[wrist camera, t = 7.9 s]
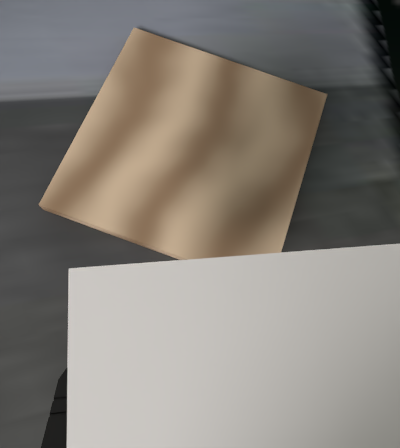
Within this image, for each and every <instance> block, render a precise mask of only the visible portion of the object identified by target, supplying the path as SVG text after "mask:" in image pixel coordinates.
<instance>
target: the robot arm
mask: <svg viewBox="0 0 400 448" xmlns="http://www.w3.org/2000/svg"><path fill="white" fill-rule="evenodd" d="M67 372H68V367H67V368H66V370H65V371H64V373H63V374H62V375H61V377H60V378H59V380H58V384H57V388H56V392H55V395H54V401H53V403H52V407H51V411H50V417H49V419H48V422H47V426H46V430H45V434H44V438H43V442H42V446H41V448H67Z"/></svg>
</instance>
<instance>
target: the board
mask: <svg viewBox="0 0 400 448" xmlns="http://www.w3.org/2000/svg"><path fill="white" fill-rule="evenodd" d="M326 97H327V94H325V93H322V92H319V91H316V90H314V89H311V88H308V87H305V86H302V85H299V84H296V83H293V82H290V81H287V80H285V79H282V78H279V77H276V76H273V75H270V74H267V73H264V72H261V71H259V70H256V69H253V68H250V67H247V66H244V65H241V64H238V63H235V62H232V61H230V60H227V59H224V58H221V57H218V56H215V55H212V54H209V53H206V52H204V51H201V50H198V49H195V48H192V47H189V46H186V45H183V44H180V43H177V42H175V41H172V40H169V39H166V38H163V37H160V36H157V35H154V34H151V33H149V32H146V31H143V30H140V29H137V28H134V29H133V30H132V32H131V34H130V36H129V38H128V40H127V42H126V43H125V45H124V47H123V49H122V51H121V53H120V55H119V56H118V58H117V60H116V62H115V64H114V66H113V68H112V69H111V71H110V73H109V75H108V77H107V79H106V81H105V82H104V84H103V86H102V88H101V90H100V92H99V94H98V95H97V97H96V99H95V101H94V103H93V105H92V107H91V108H90V110H89V112H88V114H87V116H86V118H85V120H84V121H83V123H82V125H81V127H80V129H79V131H78V133H77V134H76V136H75V138H74V140H73V142H72V144H71V146H70V148H69V149H68V151H67V153H66V155H65V157H64V159H63V161H62V162H61V164H60V166H59V168H58V170H57V172H56V174H55V175H54V177H53V179H52V181H51V183H50V185H49V187H48V188H47V190H46V192H45V194H44V196H43V198H42V200H41V201H40V203H39V206H40V207H41V208H42V209H43V210H46V211H49V212H51V213H54V214H57V215H60V216H62V217H65V218H68V219H71V220H73V221H76V222H79V223H81V224H84V225H87V226H90V227H92V228H95V229H98V230H100V231H103V232H106V233H109V234H111V235H114V236H117V237H119V238H122V239H125V240H128V241H130V242H133V243H136V244H139V245H141V246H144V247H147V248H149V249H152V250H155V251H158V252H160V253H163V254H166V255H168V256H171V257H174V258H177V259H179V260H189V259H203V258H216V257H229V256H243V255H256V254H269V253H281V251H282V247H283V244H284V241H285V237H286V234H287V230H288V227H289V223H290V220H291V217H292V213H293V210H294V206H295V203H296V200H297V196H298V193H299V189H300V186H301V183H302V179H303V176H304V172H305V169H306V165H307V162H308V159H309V155H310V152H311V148H312V145H313V142H314V138H315V135H316V131H317V128H318V125H319V121H320V118H321V114H322V111H323V108H324V104H325V101H326Z"/></svg>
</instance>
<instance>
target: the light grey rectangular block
mask: <svg viewBox="0 0 400 448" xmlns="http://www.w3.org/2000/svg"><path fill="white" fill-rule="evenodd" d="M67 448H400V244H389V245H376V246H362V247H349V248H336V249H322V250H309V251H296V252H283V253H269V254H256V255H243V256H229V257H216V258H203V259H189V260H176V261H163V262H149V263H136V264H123V265H110V266H96V267H83V268H70V269H69V289H68V372H67Z"/></svg>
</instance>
